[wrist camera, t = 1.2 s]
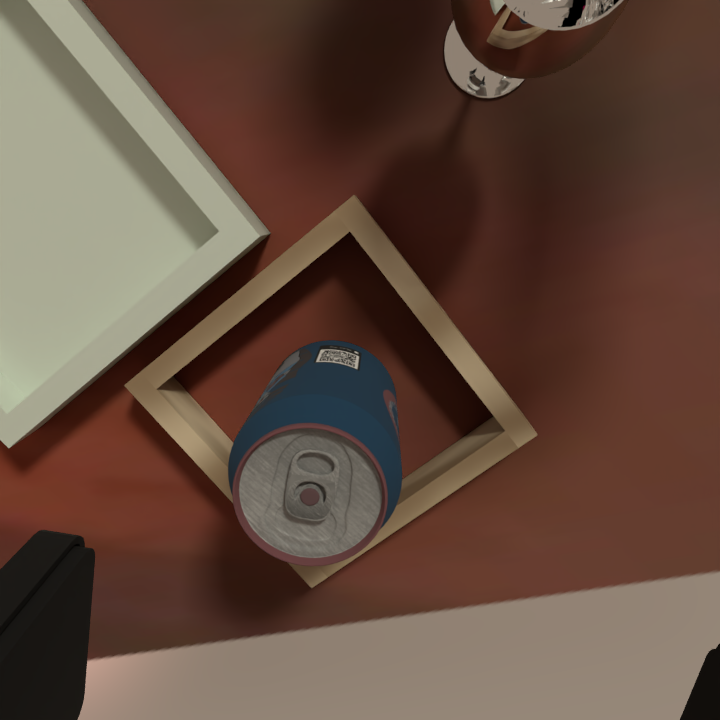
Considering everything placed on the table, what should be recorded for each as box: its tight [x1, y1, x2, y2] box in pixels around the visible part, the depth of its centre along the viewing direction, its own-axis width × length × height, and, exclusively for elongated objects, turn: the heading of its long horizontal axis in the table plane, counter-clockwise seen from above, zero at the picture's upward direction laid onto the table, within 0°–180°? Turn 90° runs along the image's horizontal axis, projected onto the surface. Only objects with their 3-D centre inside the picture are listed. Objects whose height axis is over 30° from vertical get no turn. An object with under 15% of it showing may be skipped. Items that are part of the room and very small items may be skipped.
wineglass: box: [444, 0, 629, 99], centre depth 22 cm, size 6×6×12 cm
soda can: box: [228, 340, 402, 566], centre depth 27 cm, size 7×7×12 cm
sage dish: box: [0, 0, 271, 448], centre depth 29 cm, size 18×18×3 cm
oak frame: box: [124, 195, 537, 588], centre depth 32 cm, size 15×15×2 cm
